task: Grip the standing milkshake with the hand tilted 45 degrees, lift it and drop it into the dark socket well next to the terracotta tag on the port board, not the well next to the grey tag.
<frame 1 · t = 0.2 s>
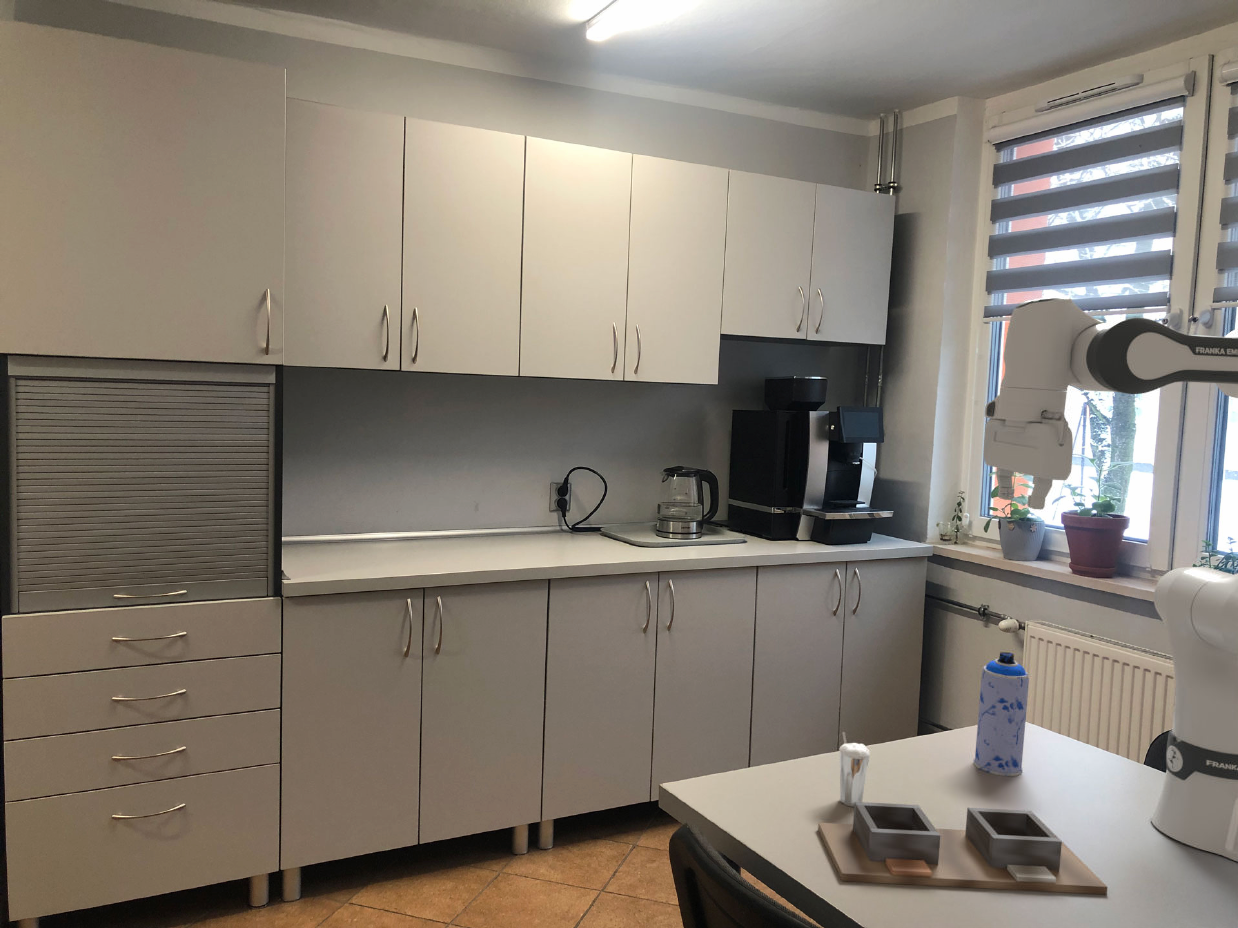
hand: (1019, 503, 133), 48 cm above the table, tool pointing down, fingers open, 8 cm apart
milkshake: (849, 802, 140), on the table
port board: (954, 859, 123), on the table
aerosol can: (997, 767, 157), on the table
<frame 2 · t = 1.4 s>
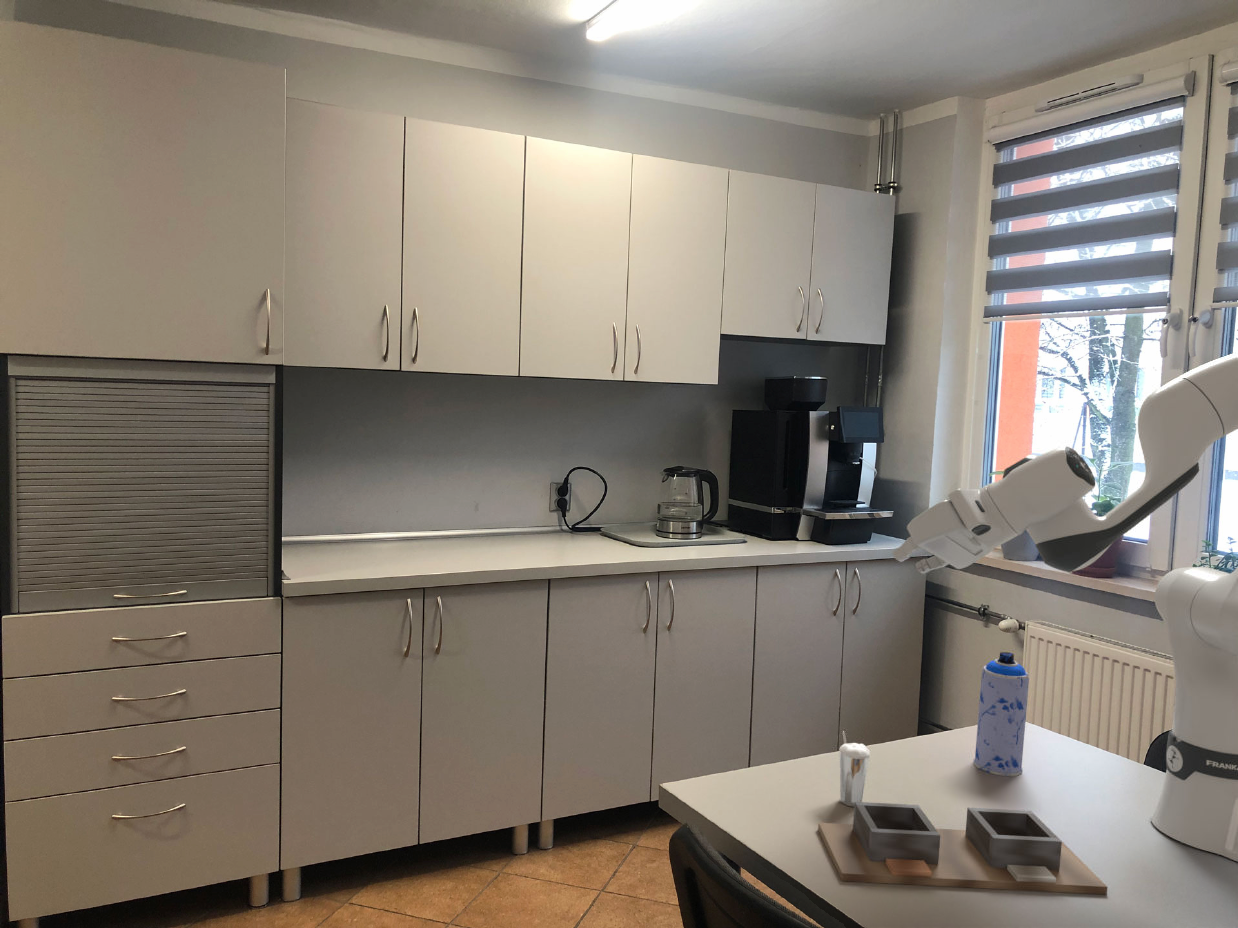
hand: (907, 563, 146), 36 cm above the table, tool tilted 55°, fingers open, 8 cm apart
nothing on the table moved.
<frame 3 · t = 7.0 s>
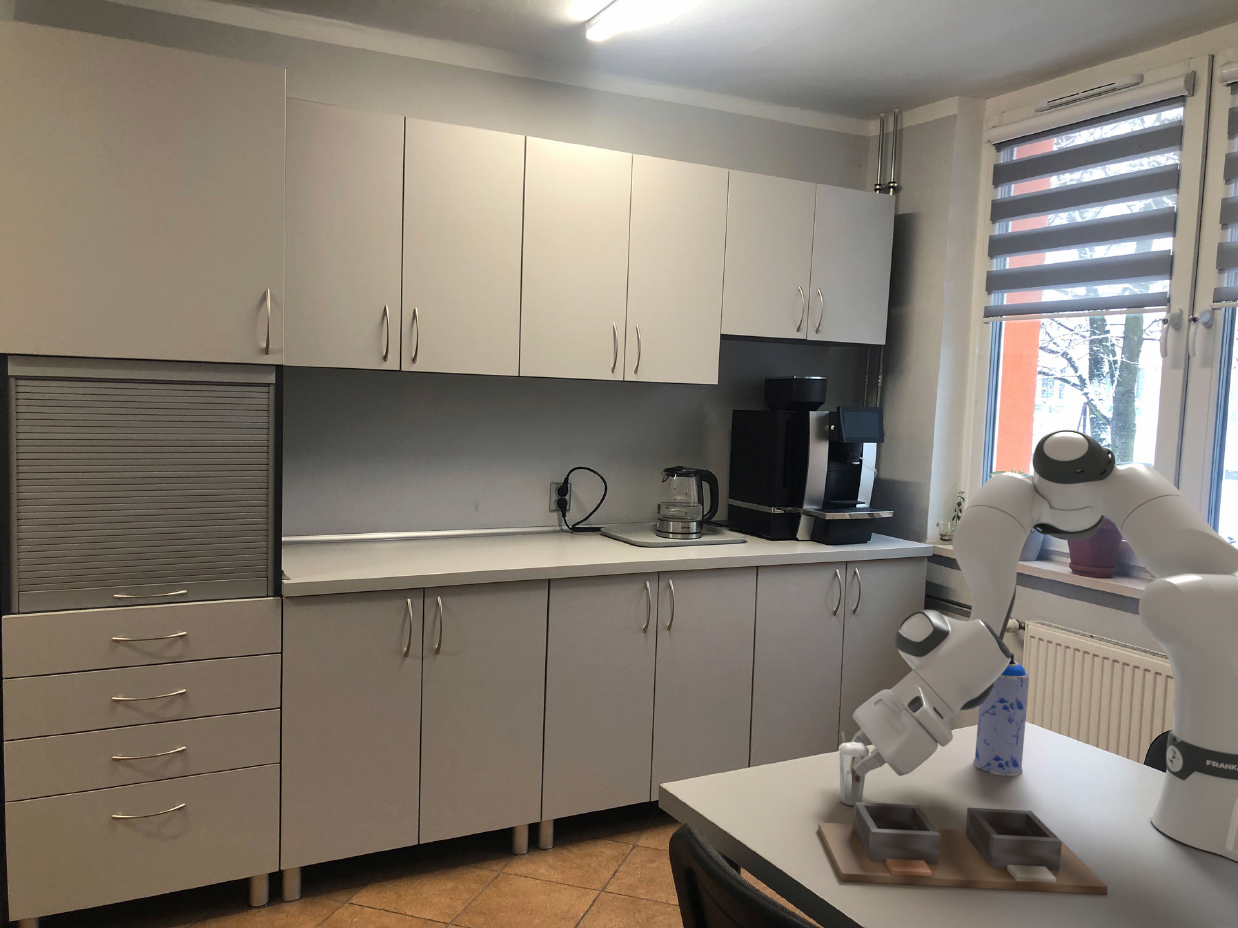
hand: (851, 764, 140), 6 cm above the table, tool tilted 45°, fingers closed on milkshake, 4 cm apart
milkshake: (849, 801, 140), on the table, touching gripper
everything else where it was.
when the fingers open (8 cm above the table, at t = 12.7 s): milkshake drops 1 cm, resting on port board.
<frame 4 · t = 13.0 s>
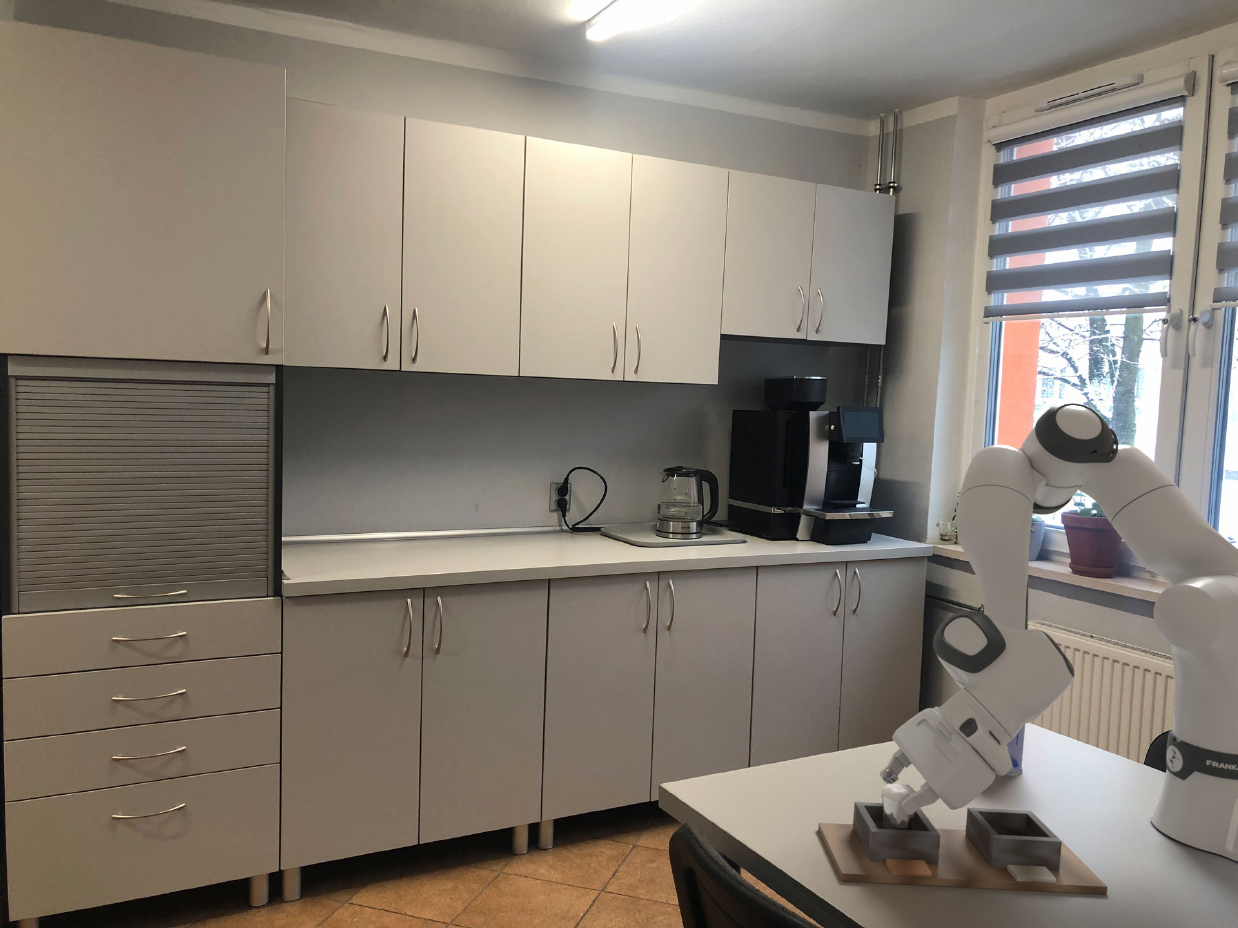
hand: (893, 793, 124), 8 cm above the table, tool tilted 45°, fingers open, 8 cm apart
milkshake: (893, 850, 123), point 1 cm above the table, touching port board
everything else where it was.
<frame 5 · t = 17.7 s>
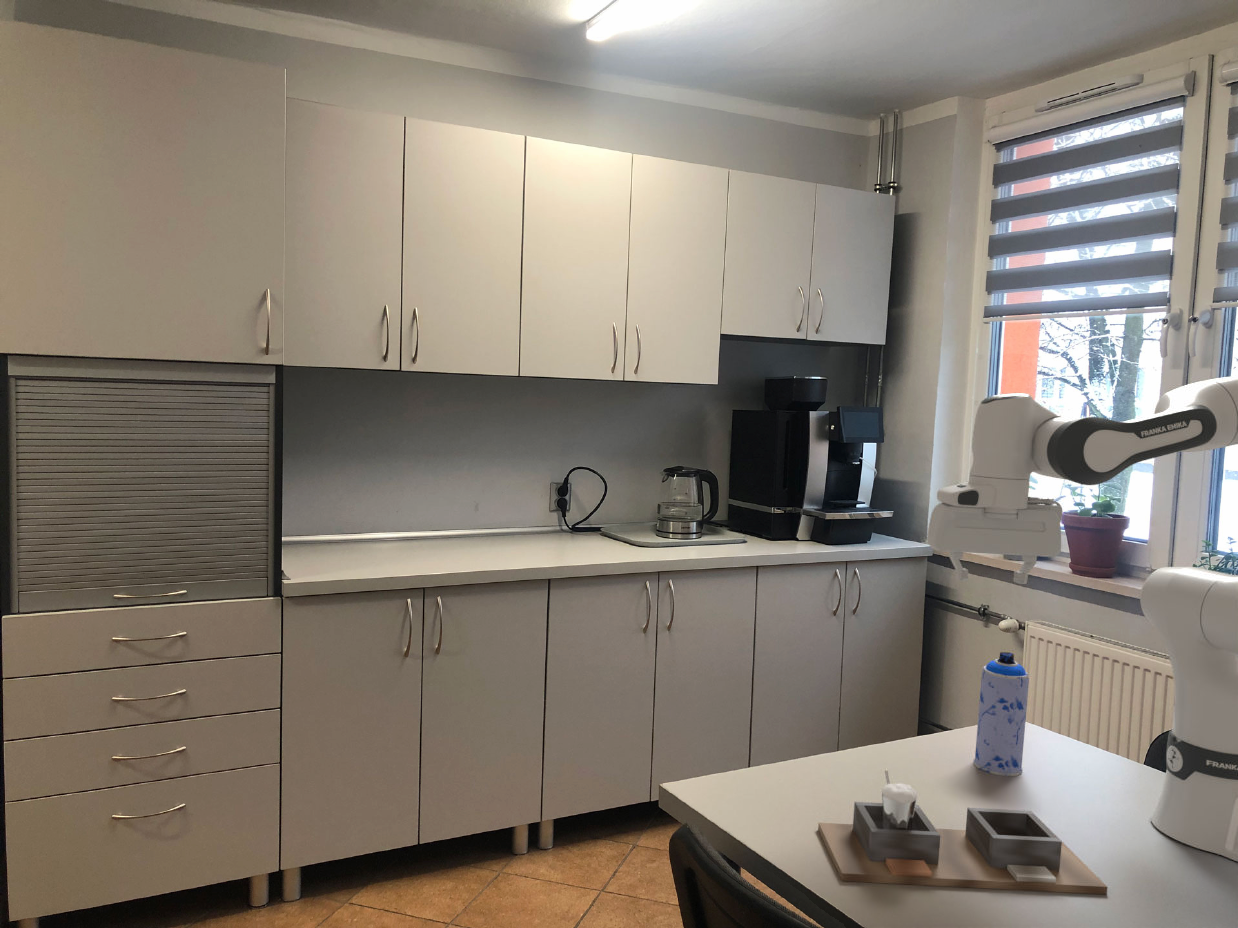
hand: (990, 581, 145), 34 cm above the table, tool pointing down, fingers open, 8 cm apart
nothing on the table moved.
at the end: milkshake 1.1 cm from the target spot on the port board, point 0.8 cm above the port board's base; milkshake tilted 0°; the gripper is holding nothing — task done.
